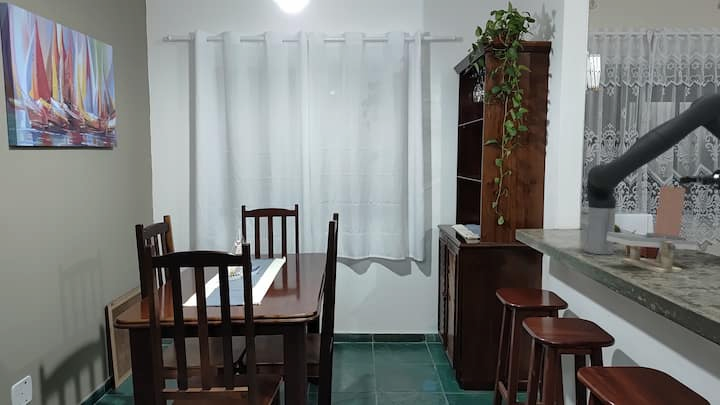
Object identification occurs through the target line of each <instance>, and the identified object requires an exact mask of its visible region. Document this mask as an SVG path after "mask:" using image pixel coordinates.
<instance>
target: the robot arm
mask: <svg viewBox="0 0 720 405" xmlns="http://www.w3.org/2000/svg"><path fill="white" fill-rule="evenodd" d="M700 127H703V128H704V129H706V130H707V131H708V132H709V133H710V134H711V135H713V136H714V137H715V138H716V139H717V140H718V141H720V93H718V92H717V93H715V92H711V93H706V94H703V95H702V96H700V97H698V98H696V99H695V100H693V102H691V103H690V105H689V107H688V108H687V109H685V110H684V111H683V112H682V113H680V114H678V115H676V116H675V117H673V118H670V119H668V120H667V121H664V122H663V123H661V124H659V125H657V126H656V127H654V128H652V129H651V130H649V131H648V132H646V133H645V134H644V135H641V137H638V139H637V140H636V141H634V143H632V145H630V147H629V148H628V149H627V150H626V151H625V152H624V153H623V154H621V155H620V156H619V157H617V158H615V159H613V160H612V161H610V162H608V163H605V164H596V165H594V166H593V167H591V168H590V169H589V171H588V174H587V178H586V179H587V180H586V182H587V183H586V184H587V185H586V200H587V202H588V204H587V205H588V207H587V225H586V226H585V227H584V241H583V242H584V244H583V251H584V252H585V253H588V254H589V253H590V254H594V255H613V254H614V249H615V248H614V244H615V242H612V241H607V240H606V239H607V232H614V227H615V225H616V224H615V222H616V205H617V204H616V203H617V202H616V199H615V197H614V188H615V187H617V186H618V185H619V184H620V183H621V182H623V181H624V180H625V179H626V178H627V177H629V176H630V175H631V174H632V173H634V172H635V171H636V170H638V169H640V168H642V167H644V166H645V165H646V164H649V163H650V162H652V161H653V160H655V159H658V157H660V156H661V155H663V154H665V153H666V152H667V151H670V149H671V148H673V147H674V146H676V145H677V144H679V143H680V142H681V141H683V140H684V139H685V138H686V137H687V136H688V135H690V134H692V132H694V131H695V130H698V128H700ZM679 184H680V185H681V184H683V185H684V184H685V185H688V184H689V185H691V184H695V185H696V186H707V187H709V186H710V187H711V186H712V188H714V189H715V190H716V191H720V168H718V169H715V170H714V171H713V172H712V173H708V174H697V175H686V176H682V177H679Z"/></svg>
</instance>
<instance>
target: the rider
mask: <svg viewBox="0 0 720 405" xmlns="http://www.w3.org/2000/svg"><path fill="white" fill-rule="evenodd" d="M659 188H660V189H659V196H658V203H657V210H656V218H655V224H654V232H646V234H645V235H646V238H657V239H671V240H686V241H687V237H683V236H680V231H681V225H682V224H681V223H682V219H683V218H682V217H683V209H684V202H685V198H686V197H685V196H686V195H685V194H686V188H685V187H684V188H683V187H676V186H675V187H674V186H662V185H661V186H660V187H659Z"/></svg>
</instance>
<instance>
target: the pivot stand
mask: <svg viewBox="0 0 720 405" xmlns="http://www.w3.org/2000/svg"><path fill="white" fill-rule="evenodd" d="M675 248H676V246H675V245H674V242H670V241H662V248H661V255H660V256H661V257H660V262H657V261H654V260H650V259H646V258H642V257H641V256H642V254H641V253H642V251H641V250H642V246H630V249H629V250H630V251H629V252H630V253H629V258H620V262H621V263H624V264H627V265H631V266H635V267H638V268H642V269H644V270H649V271H652V272H656V273H659V274H663V273H664V274H665V273H666V274H667V273H682V272H683V268H681V267H678V266H677V267H676V266H673V264H674V263H673V261H674V260H673V259H674V251H675V250H676V249H675Z"/></svg>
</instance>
